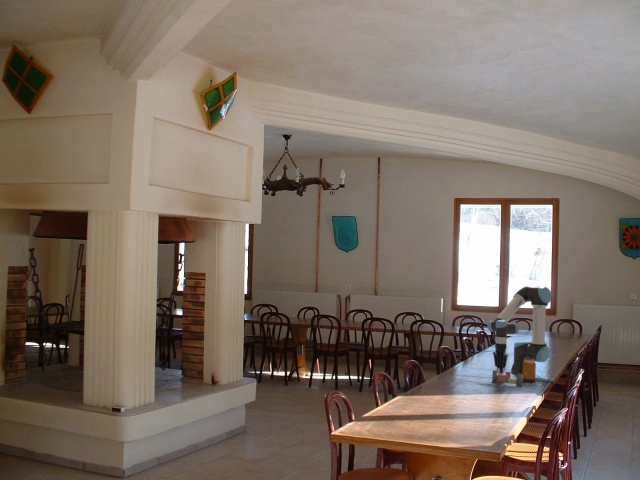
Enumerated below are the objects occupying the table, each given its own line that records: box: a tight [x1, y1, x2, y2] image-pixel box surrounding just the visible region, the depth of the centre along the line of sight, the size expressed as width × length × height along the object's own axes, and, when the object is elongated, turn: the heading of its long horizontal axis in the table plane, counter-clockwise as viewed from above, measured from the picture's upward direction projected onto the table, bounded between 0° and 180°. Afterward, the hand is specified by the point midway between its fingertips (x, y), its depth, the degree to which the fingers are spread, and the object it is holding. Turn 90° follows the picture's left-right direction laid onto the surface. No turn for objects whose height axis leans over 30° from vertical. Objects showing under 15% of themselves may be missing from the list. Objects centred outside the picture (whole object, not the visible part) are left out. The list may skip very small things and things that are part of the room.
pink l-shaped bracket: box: [497, 371, 512, 383], centre depth 476 cm, size 2×13×6 cm, turn 127°
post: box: [490, 370, 498, 384], centre depth 470 cm, size 4×4×8 cm
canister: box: [519, 352, 537, 384], centre depth 479 cm, size 9×11×20 cm
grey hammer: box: [507, 374, 524, 388], centre depth 461 cm, size 4×8×8 cm, turn 52°
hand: (499, 377), depth 480 cm, fingers closed
